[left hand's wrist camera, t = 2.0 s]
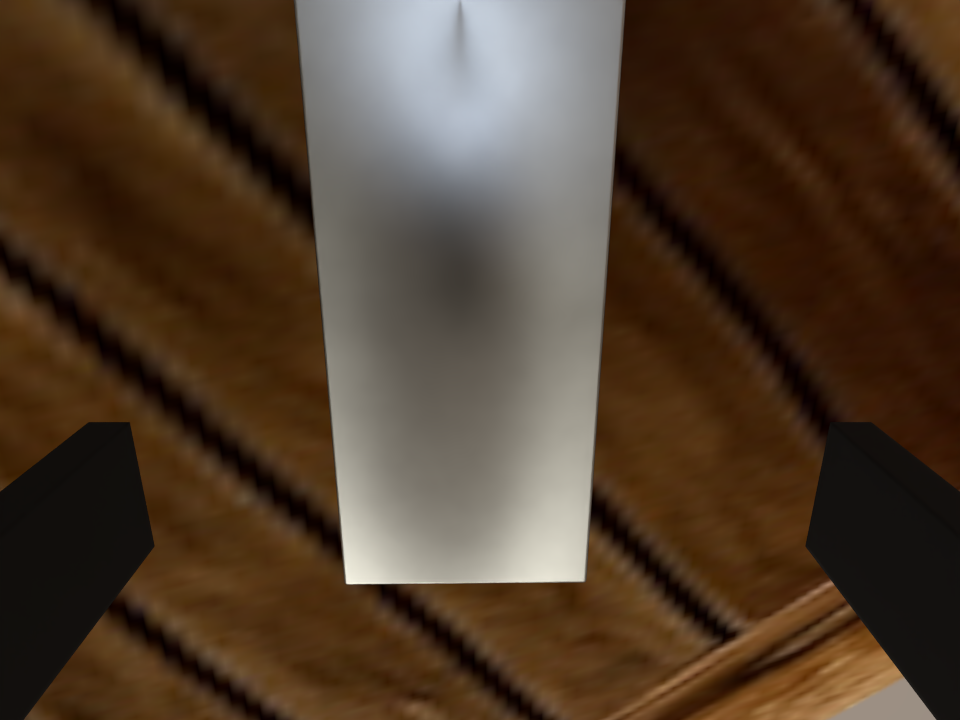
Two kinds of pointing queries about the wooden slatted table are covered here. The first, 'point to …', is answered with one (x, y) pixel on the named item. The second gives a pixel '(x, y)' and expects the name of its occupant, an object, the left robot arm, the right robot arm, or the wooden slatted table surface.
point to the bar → (462, 276)
